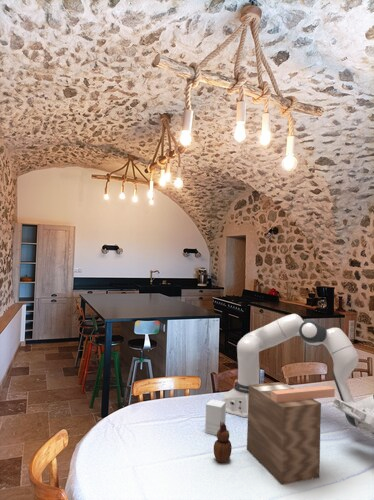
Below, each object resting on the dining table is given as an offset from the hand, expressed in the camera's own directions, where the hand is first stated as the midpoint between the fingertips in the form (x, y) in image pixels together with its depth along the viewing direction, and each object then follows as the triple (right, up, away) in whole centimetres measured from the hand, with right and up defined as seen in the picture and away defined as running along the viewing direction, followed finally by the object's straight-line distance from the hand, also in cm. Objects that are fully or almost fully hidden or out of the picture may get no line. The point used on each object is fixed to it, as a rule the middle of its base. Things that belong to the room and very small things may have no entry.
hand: (343, 405), depth 138 cm
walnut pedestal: (-26, -20, -4) cm, 33 cm away
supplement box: (-49, -21, +20) cm, 57 cm away
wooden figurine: (-48, -20, -4) cm, 52 cm away
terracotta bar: (-18, +6, -6) cm, 20 cm away
